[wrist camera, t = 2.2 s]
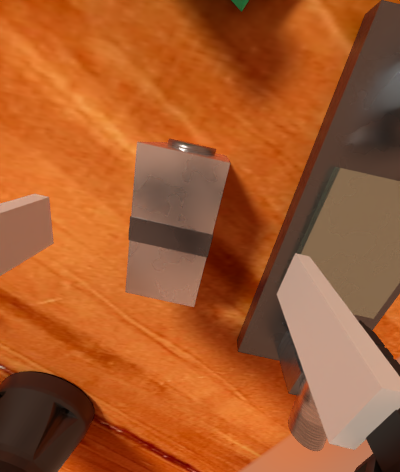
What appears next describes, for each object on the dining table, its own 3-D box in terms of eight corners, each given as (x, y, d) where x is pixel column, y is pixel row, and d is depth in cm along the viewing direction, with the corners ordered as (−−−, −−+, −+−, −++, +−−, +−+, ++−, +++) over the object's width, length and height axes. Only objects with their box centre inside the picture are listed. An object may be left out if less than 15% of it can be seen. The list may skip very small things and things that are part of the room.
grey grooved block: (200, 261, 22) (193, 311, 15) (152, 251, 22) (124, 296, 15) (227, 150, 18) (233, 155, 11) (167, 136, 17) (136, 133, 11)
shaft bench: (328, 368, 26) (378, 469, 18) (234, 347, 26) (241, 440, 18) (564, 31, 13) (1131, -151, 5) (375, -13, 13) (638, -273, 5)
